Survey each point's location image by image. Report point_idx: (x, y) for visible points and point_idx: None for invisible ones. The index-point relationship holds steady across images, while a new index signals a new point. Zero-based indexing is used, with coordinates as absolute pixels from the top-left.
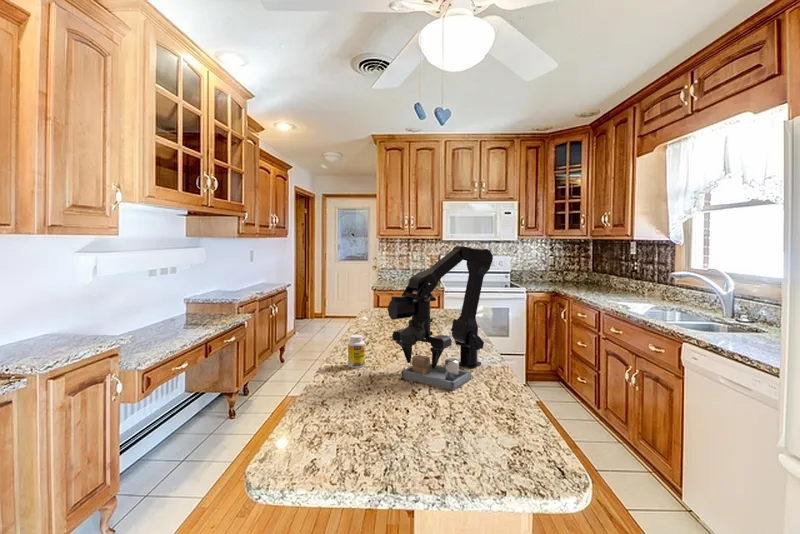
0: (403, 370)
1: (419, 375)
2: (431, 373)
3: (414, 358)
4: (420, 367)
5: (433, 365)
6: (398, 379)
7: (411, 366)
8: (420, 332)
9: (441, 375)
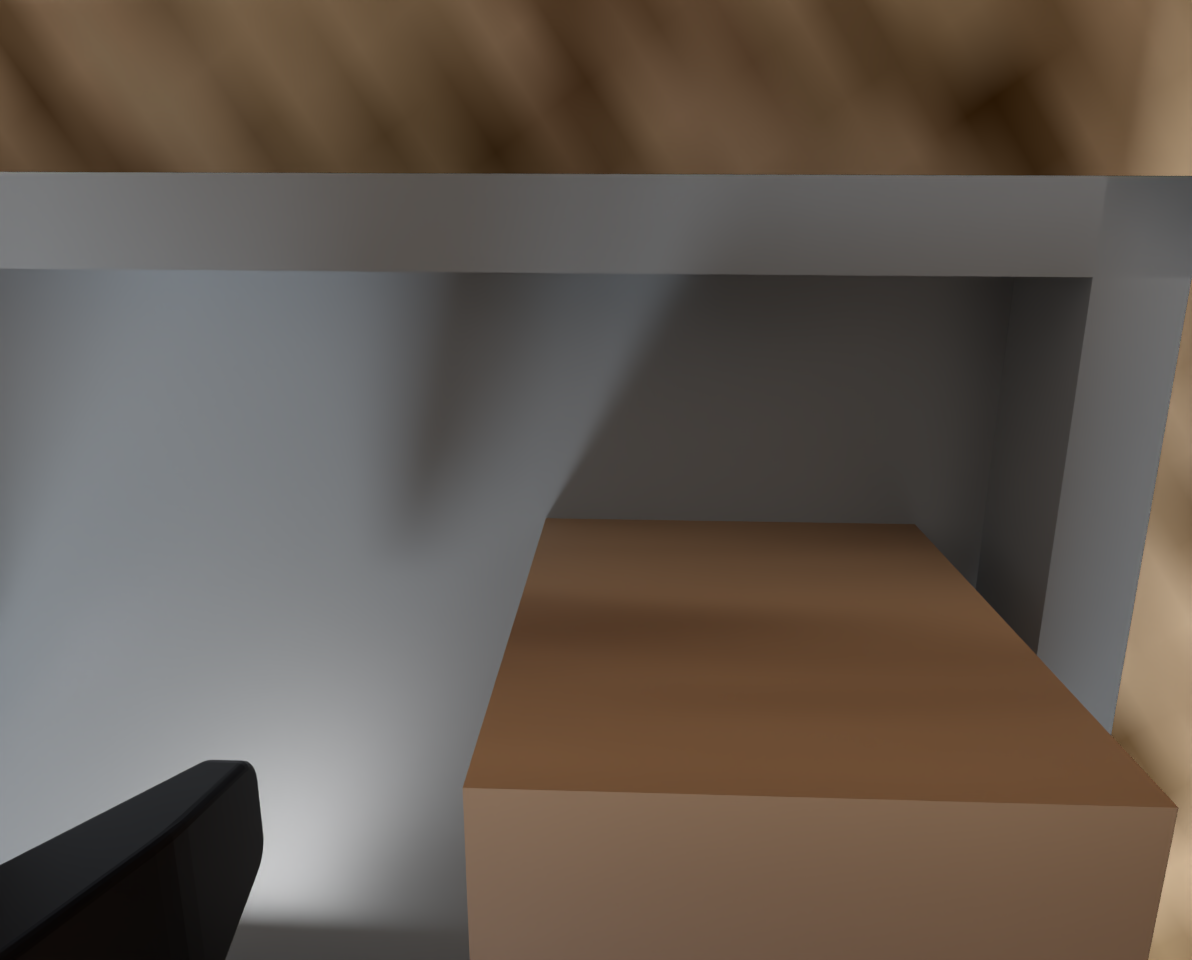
0: (1146, 233)
1: (401, 173)
2: None
3: (1008, 793)
4: (623, 613)
5: (123, 809)
6: (1094, 6)
7: None
8: None
9: None
